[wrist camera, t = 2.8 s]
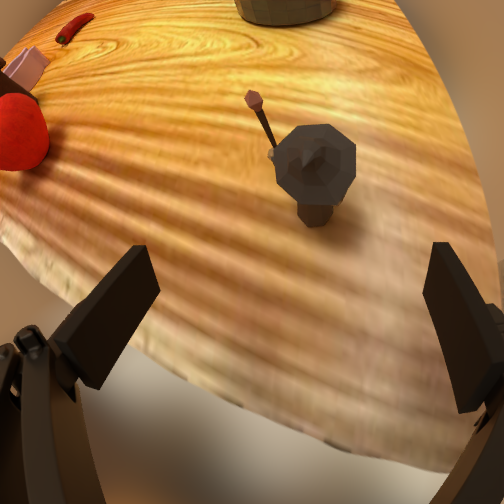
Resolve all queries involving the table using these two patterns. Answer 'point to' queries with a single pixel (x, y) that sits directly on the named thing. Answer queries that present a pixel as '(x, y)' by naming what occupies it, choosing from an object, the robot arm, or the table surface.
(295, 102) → the table surface
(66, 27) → the vegetable
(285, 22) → the basin
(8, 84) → the sculpture
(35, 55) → the clip
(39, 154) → the apple
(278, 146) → the wizard figurine
